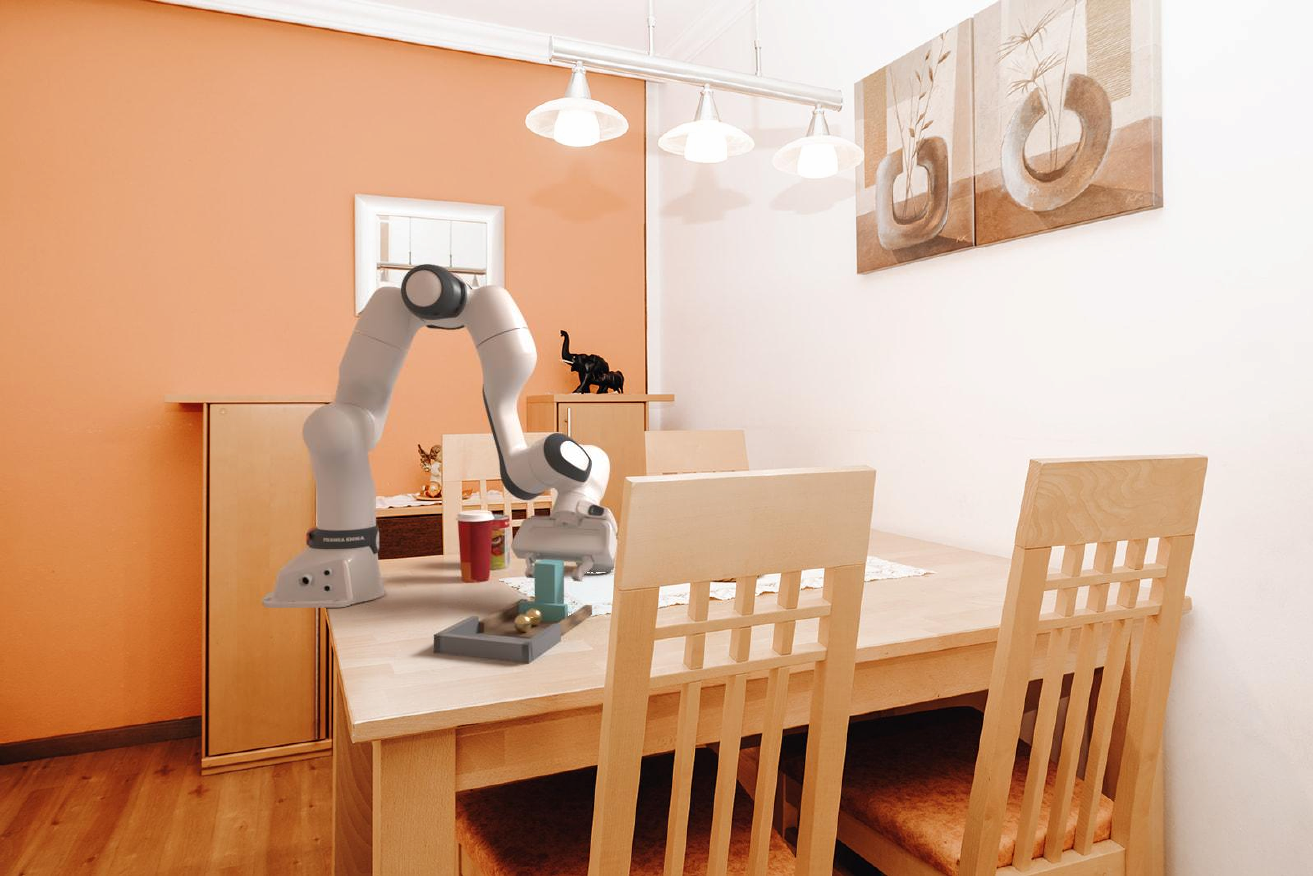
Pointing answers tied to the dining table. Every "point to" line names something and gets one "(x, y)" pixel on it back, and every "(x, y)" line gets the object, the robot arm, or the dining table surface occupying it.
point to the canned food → (500, 542)
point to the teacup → (600, 565)
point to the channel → (505, 626)
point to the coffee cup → (475, 544)
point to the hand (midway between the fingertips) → (552, 578)
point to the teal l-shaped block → (548, 591)
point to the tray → (494, 642)
